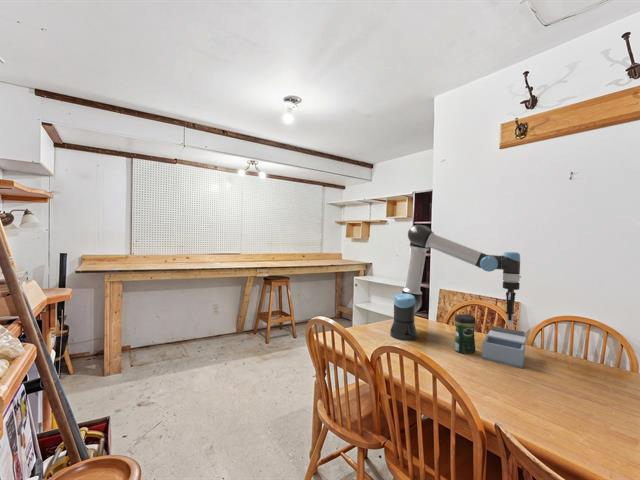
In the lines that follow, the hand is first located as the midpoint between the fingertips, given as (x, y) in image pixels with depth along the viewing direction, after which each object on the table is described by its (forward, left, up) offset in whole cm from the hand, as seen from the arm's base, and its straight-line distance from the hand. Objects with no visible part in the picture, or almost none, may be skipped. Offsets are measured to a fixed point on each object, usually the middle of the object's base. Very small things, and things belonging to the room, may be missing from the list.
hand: (509, 326), depth 162 cm
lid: (0, -12, -3) cm, 12 cm away
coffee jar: (-17, -22, -12) cm, 30 cm away
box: (0, -21, -11) cm, 24 cm away
